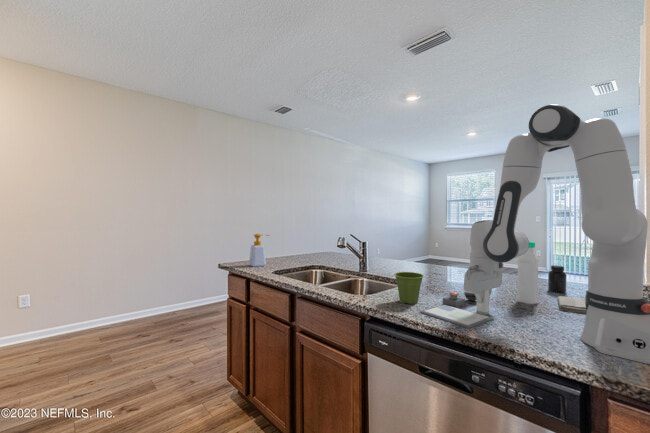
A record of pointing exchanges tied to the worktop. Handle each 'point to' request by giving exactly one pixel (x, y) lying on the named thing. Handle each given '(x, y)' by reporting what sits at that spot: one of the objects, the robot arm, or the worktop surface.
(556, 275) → the supplement bottle
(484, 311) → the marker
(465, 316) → the white rectangular board
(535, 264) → the water bottle
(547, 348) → the worktop surface
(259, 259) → the soap bottle
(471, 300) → the dark tiered figurine
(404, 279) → the plant pot
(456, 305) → the button housing
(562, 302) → the washcloth
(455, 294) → the button
